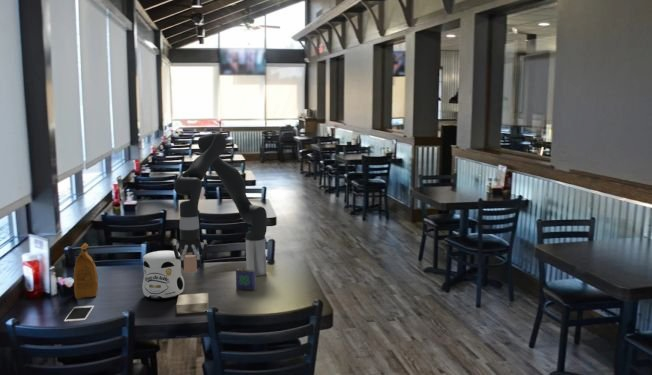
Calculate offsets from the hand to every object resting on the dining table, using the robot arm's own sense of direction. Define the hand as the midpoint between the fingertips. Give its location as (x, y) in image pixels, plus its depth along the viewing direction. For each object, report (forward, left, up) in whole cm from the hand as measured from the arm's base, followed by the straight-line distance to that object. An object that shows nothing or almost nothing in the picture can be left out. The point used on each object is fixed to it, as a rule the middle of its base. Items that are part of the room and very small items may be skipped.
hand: (190, 268), depth 233 cm
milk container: (+13, -17, -16) cm, 27 cm away
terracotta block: (0, 0, -1) cm, 1 cm away
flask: (-22, -18, -16) cm, 33 cm away
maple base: (0, 0, -17) cm, 17 cm away
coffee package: (+46, -25, -16) cm, 55 cm away
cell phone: (+44, -2, -17) cm, 47 cm away
